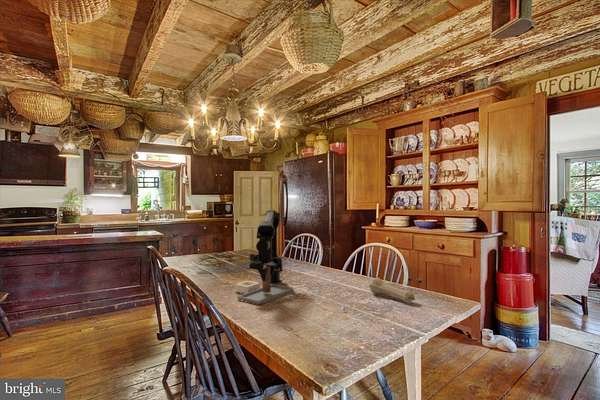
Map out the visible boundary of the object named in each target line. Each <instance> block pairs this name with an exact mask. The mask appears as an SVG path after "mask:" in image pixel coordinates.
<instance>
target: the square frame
mask: <svg viewBox="0 0 600 400" xmlns="http://www.w3.org/2000/svg"><path fill="white" fill-rule="evenodd" d="M259 288H261V283H260V282H257V281H252V280H245V281H241V282H238V283H235V286H234V290H235V291H236V292H235V293H237V292H241V293H240V294H242V293H248V292H251V291H254V290H256V289H259Z"/></svg>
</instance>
